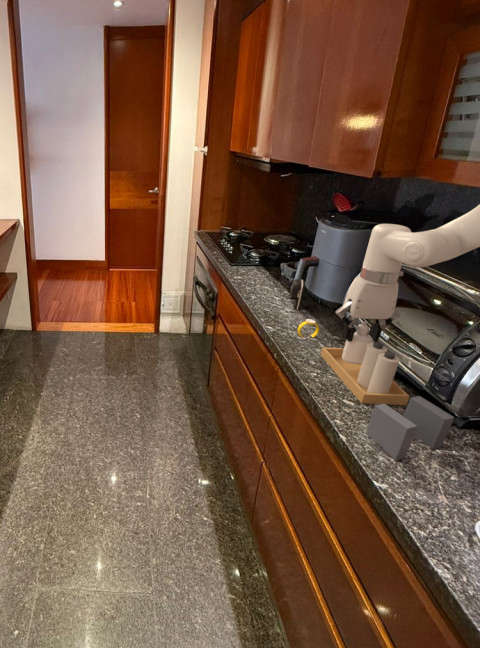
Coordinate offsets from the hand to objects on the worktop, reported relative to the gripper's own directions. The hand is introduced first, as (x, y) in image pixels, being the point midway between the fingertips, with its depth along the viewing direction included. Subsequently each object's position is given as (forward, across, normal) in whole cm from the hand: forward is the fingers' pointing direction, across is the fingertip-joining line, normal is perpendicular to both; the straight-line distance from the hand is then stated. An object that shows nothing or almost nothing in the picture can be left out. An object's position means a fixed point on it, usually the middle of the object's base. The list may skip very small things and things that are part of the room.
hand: (359, 338), depth 101 cm
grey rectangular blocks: (+10, +3, +26) cm, 28 cm away
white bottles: (+9, 0, +9) cm, 13 cm away
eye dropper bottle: (+7, 0, 0) cm, 7 cm away
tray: (+10, 0, +4) cm, 11 cm away
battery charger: (+10, +1, -38) cm, 39 cm away
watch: (+10, +4, -18) cm, 21 cm away
